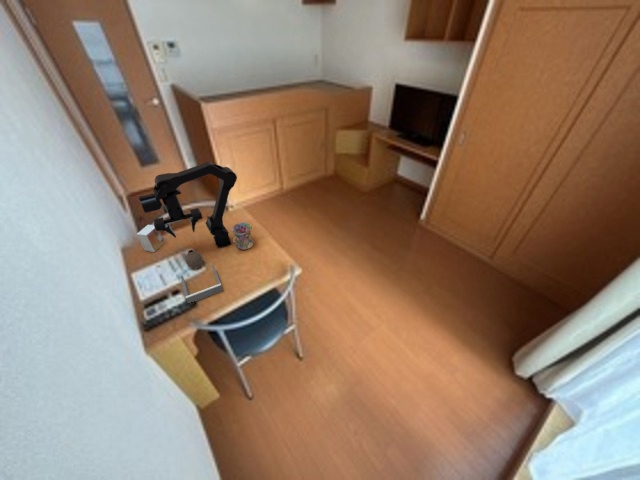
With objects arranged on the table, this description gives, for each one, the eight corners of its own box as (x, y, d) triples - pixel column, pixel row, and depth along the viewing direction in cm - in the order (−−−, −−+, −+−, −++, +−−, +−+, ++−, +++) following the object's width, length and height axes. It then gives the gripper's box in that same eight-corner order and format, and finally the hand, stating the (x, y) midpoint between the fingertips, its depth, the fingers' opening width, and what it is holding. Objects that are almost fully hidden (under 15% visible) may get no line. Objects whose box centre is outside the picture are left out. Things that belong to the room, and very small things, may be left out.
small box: (155, 252, 129) (146, 235, 122) (145, 251, 130) (135, 234, 123) (165, 242, 135) (157, 225, 128) (156, 240, 136) (147, 224, 129)
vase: (207, 262, 124) (202, 248, 118) (197, 272, 119) (191, 258, 113) (195, 258, 126) (189, 244, 120) (185, 268, 121) (178, 254, 115)
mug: (242, 237, 138) (239, 220, 131) (258, 241, 136) (255, 224, 129) (228, 252, 129) (223, 234, 123) (245, 256, 127) (241, 239, 120)
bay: (215, 270, 120) (213, 264, 117) (223, 290, 111) (221, 284, 108) (183, 281, 114) (180, 275, 112) (188, 304, 105) (185, 298, 103)
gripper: (192, 191, 120) (202, 219, 130) (146, 202, 113) (160, 231, 122) (197, 202, 112) (207, 231, 122) (148, 215, 105) (163, 245, 115)
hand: (184, 234), depth 121 cm, fingers open, 7 cm apart
